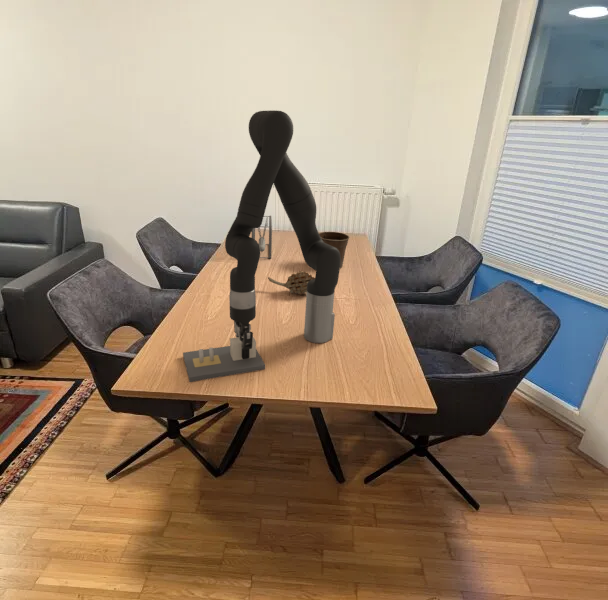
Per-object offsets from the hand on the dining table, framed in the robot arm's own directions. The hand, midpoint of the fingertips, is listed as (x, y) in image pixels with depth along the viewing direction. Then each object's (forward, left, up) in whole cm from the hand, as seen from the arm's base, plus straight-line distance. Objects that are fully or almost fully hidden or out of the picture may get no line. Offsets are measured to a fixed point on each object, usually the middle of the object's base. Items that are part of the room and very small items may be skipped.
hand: (243, 352), depth 126 cm
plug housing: (0, 0, -1) cm, 1 cm away
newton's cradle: (-38, -108, -3) cm, 115 cm away
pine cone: (-33, -47, -3) cm, 57 cm away
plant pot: (-66, -76, -3) cm, 101 cm away
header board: (+6, 0, -2) cm, 6 cm away
